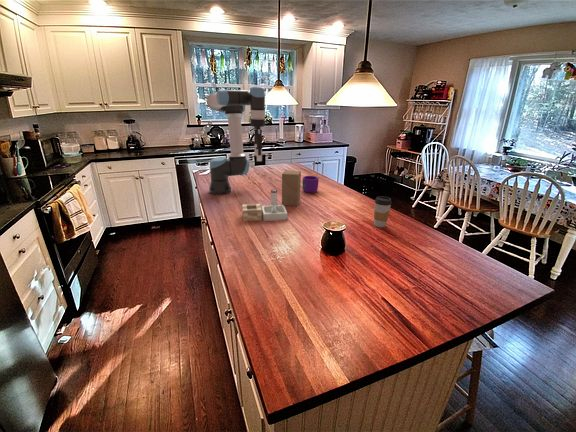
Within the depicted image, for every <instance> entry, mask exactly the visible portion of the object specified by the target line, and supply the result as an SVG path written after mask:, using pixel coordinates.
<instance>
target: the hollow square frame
mask: <svg viewBox="0 0 576 432" xmlns="http://www.w3.org/2000/svg"><path fill="white" fill-rule="evenodd" d="M241 206H242V207H241V208H242V221H243V222H249V221H250V222H251V221H252V220H254V221H255V222H256V221H262V220H263V216H262V205H261V203H243V204H242V205H241ZM252 222H253V221H252Z"/></svg>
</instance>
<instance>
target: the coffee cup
mask: <svg viewBox="0 0 576 432" xmlns="http://www.w3.org/2000/svg"><path fill="white" fill-rule="evenodd" d="M391 205H392V198H391V197H389V196H383V195H382V196H376V198H375V201H374V212H373V225H374V226H375V227H377V228H385V227H386V226H387V222H388V219H389V215H390V210H391Z"/></svg>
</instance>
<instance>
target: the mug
mask: <svg viewBox="0 0 576 432" xmlns="http://www.w3.org/2000/svg"><path fill="white" fill-rule="evenodd" d="M302 190H303V192H304V193H307V194H313V193H316V192H317V191H318V190H319V177H318V176H314V175H305V176H303V177H302Z"/></svg>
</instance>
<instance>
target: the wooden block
mask: <svg viewBox="0 0 576 432" xmlns="http://www.w3.org/2000/svg"><path fill="white" fill-rule="evenodd" d="M301 174H302V171H301V170H290V169H289V170H287V169H286V170H284V171H283V172H282V174H281V205H284V206H293V207H294V206H295V207H298V205H299V203H300V201H301V184H302V183H301V182H302V181H301V180H302V179H301V178H302V177H301V176H302V175H301Z"/></svg>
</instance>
